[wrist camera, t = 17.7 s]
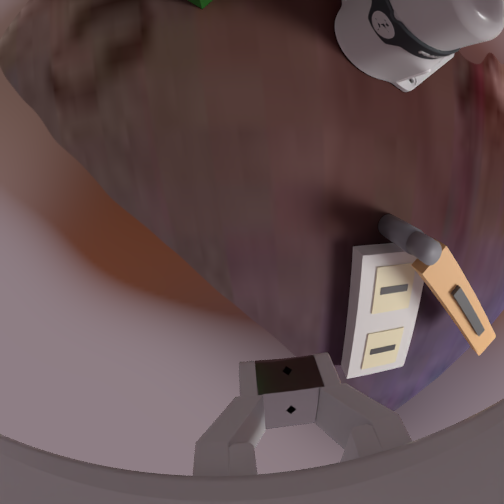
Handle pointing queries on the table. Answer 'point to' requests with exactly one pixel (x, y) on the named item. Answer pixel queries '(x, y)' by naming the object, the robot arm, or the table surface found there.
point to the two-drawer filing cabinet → (381, 302)
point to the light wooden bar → (451, 289)
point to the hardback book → (200, 3)
